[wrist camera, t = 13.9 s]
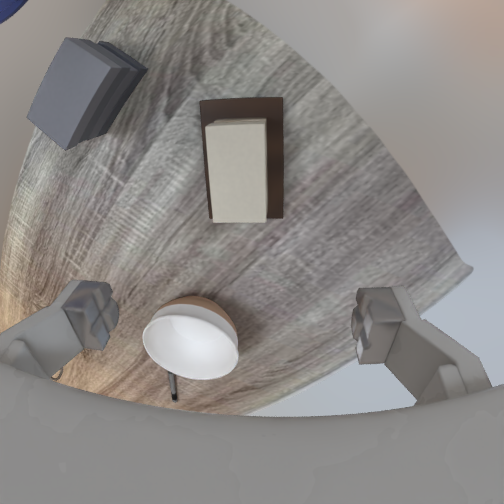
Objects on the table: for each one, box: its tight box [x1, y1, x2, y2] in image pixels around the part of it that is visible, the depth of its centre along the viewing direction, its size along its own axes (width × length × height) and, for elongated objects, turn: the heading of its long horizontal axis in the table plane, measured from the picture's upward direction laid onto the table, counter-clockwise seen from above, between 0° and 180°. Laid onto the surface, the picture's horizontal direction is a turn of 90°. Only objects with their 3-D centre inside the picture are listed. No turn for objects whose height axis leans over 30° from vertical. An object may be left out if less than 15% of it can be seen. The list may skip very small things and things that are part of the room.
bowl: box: [143, 296, 238, 380], centre depth 49 cm, size 16×16×8 cm
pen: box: [168, 371, 177, 403], centre depth 65 cm, size 1×16×1 cm, turn 173°
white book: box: [205, 121, 267, 223], centre depth 32 cm, size 11×6×2 cm, turn 2°
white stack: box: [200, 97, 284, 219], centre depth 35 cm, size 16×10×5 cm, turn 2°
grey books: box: [27, 38, 148, 151], centre depth 29 cm, size 11×8×10 cm
